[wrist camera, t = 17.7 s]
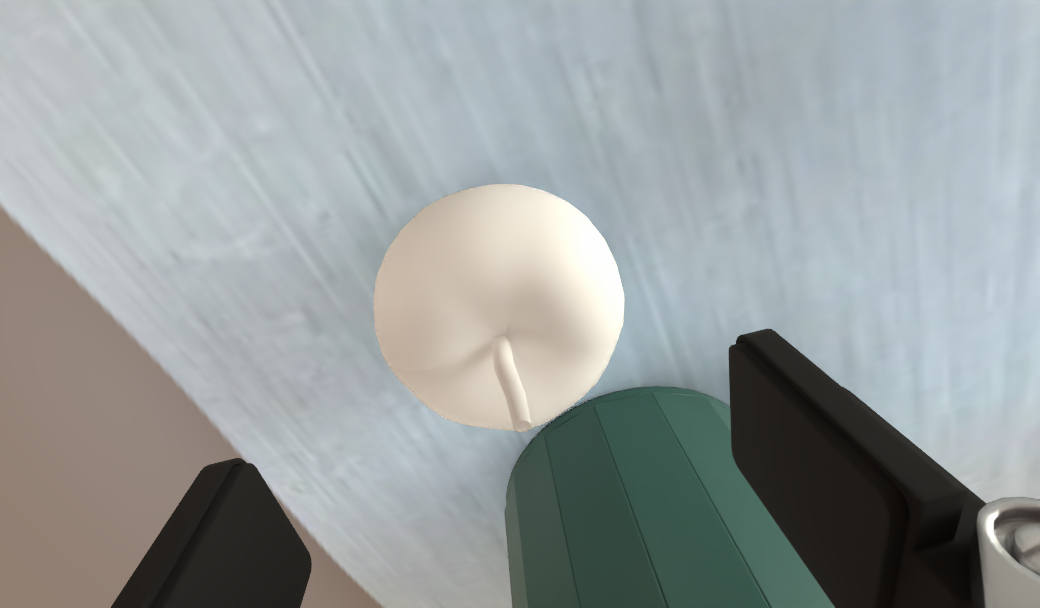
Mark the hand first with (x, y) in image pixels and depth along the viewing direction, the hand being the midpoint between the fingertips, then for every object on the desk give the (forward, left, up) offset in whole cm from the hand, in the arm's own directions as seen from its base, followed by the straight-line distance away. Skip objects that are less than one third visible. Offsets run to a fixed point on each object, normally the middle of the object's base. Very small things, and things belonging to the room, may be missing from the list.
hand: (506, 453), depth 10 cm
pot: (+13, +4, -9) cm, 16 cm away
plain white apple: (0, 0, -9) cm, 9 cm away
